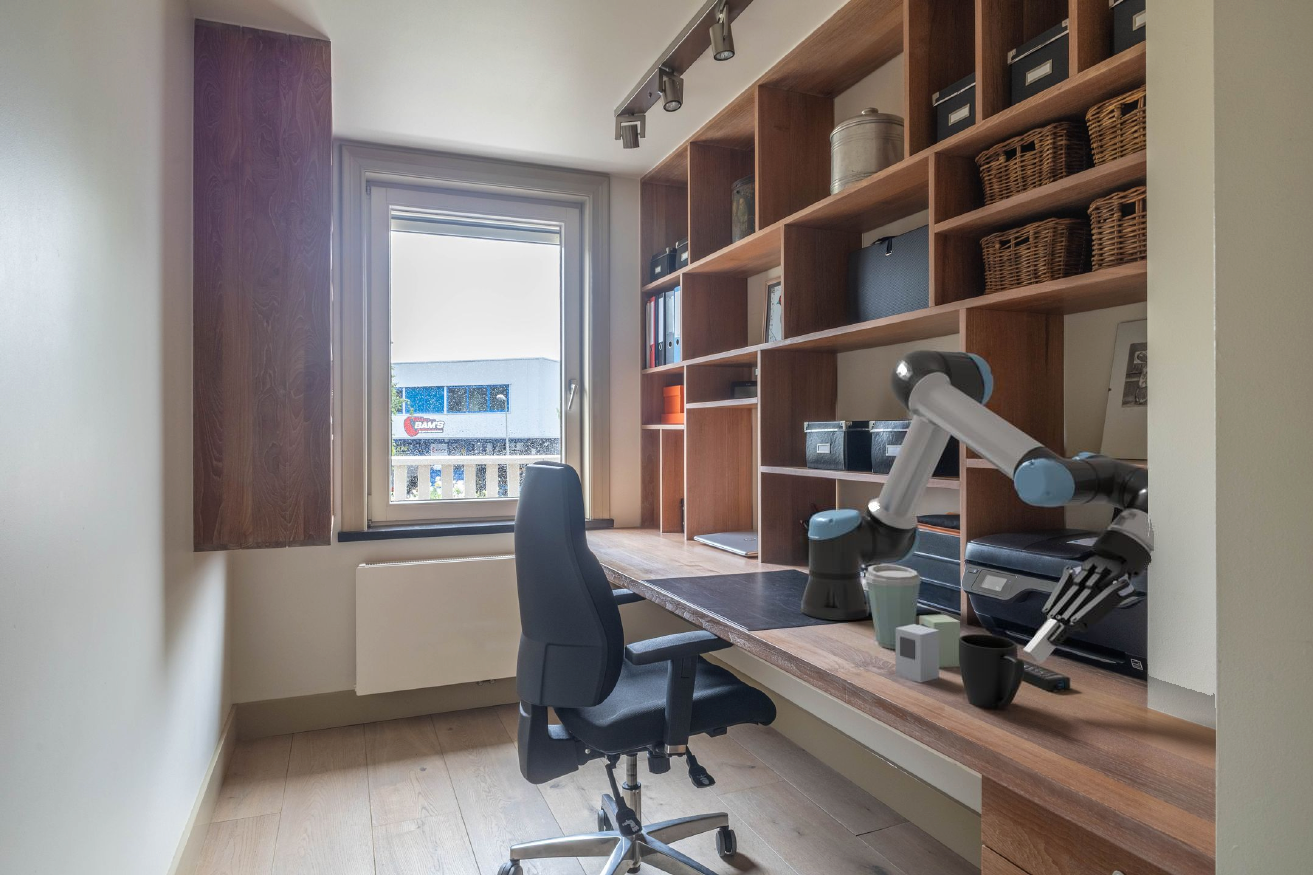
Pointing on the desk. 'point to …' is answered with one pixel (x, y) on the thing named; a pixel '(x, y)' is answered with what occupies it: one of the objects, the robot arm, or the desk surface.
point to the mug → (990, 670)
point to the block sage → (945, 637)
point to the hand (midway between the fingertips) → (1032, 656)
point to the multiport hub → (1044, 678)
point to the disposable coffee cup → (892, 600)
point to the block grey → (917, 653)
